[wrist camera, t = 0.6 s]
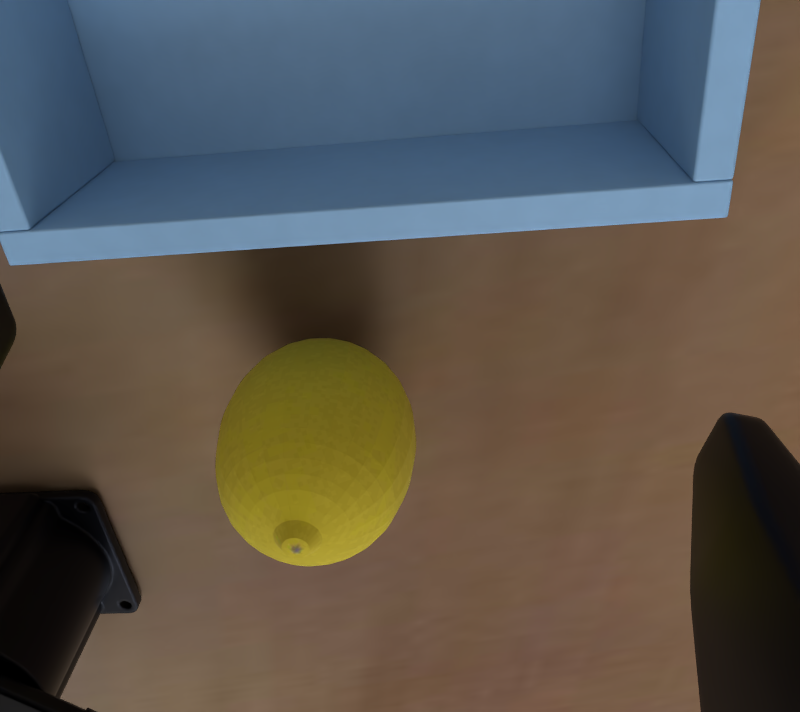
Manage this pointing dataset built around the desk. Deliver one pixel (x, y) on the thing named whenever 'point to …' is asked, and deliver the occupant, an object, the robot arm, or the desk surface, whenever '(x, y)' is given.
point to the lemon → (315, 452)
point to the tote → (359, 120)
